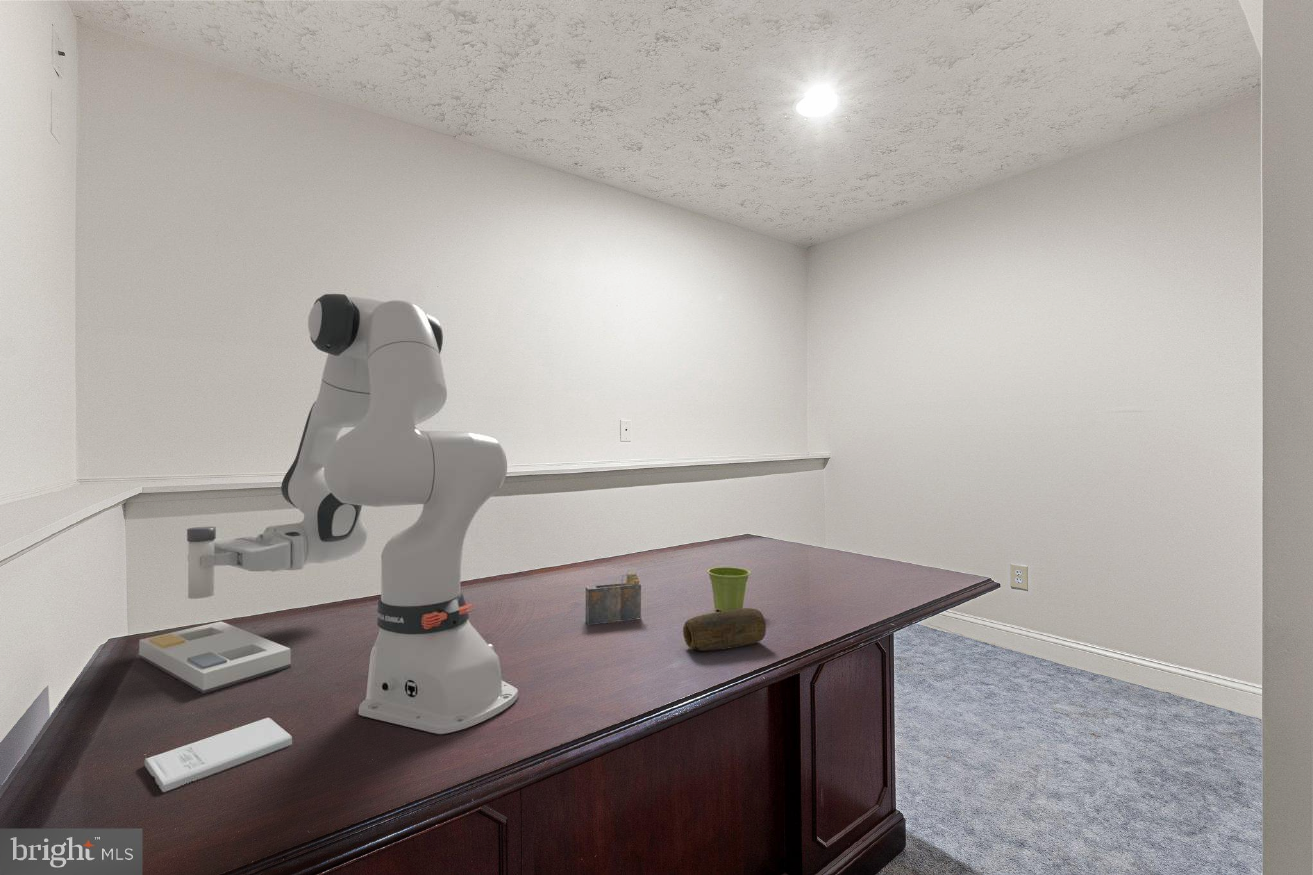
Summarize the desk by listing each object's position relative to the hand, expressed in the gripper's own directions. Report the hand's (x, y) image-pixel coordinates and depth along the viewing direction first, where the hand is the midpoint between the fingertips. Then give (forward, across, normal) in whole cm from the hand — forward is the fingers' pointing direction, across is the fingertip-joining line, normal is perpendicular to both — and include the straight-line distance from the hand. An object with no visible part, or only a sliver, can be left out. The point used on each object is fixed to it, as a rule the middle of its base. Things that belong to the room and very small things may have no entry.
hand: (195, 560), depth 102 cm
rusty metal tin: (-55, +51, +17) cm, 77 cm away
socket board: (0, +8, +16) cm, 18 cm away
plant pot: (-75, +68, +16) cm, 103 cm away
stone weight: (-54, +77, +16) cm, 95 cm away
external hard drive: (+12, +42, +17) cm, 47 cm away
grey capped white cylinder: (-1, 0, +6) cm, 7 cm away
